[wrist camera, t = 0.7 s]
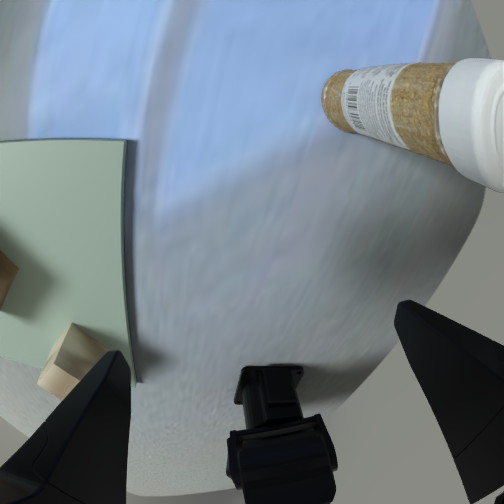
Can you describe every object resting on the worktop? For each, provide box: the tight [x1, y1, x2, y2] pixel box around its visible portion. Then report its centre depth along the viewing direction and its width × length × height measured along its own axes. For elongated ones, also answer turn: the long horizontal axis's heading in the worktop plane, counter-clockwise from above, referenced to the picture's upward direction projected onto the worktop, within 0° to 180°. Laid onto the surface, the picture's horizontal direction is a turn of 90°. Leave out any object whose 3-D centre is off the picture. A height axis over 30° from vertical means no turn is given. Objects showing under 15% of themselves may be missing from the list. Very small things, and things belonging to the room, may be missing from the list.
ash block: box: [37, 323, 110, 400], centre depth 22 cm, size 5×5×5 cm
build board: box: [0, 138, 137, 388], centre depth 20 cm, size 24×22×1 cm
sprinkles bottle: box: [322, 58, 504, 193], centre depth 11 cm, size 5×5×13 cm
